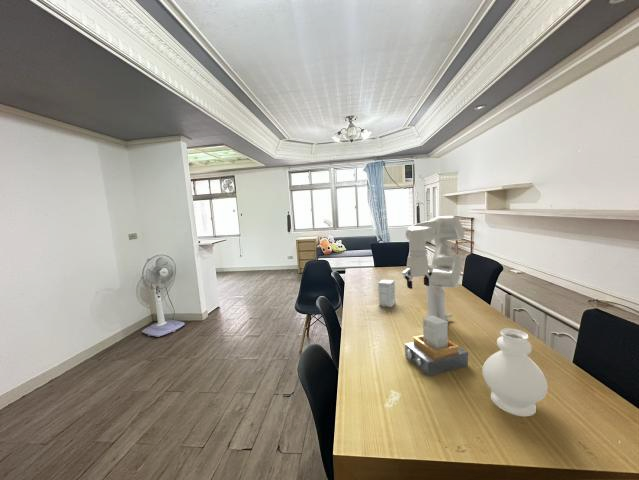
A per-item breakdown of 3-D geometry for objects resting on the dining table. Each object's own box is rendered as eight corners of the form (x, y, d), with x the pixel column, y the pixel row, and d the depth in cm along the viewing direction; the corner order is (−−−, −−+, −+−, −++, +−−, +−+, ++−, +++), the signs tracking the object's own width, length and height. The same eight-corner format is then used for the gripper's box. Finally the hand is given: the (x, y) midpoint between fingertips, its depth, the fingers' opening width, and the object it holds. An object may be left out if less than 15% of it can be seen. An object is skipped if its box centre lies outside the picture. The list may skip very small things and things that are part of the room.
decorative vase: (551, 431, 79) (555, 352, 76) (481, 410, 88) (482, 340, 86) (541, 394, 94) (543, 327, 91) (482, 380, 103) (483, 318, 100)
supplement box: (395, 303, 190) (395, 280, 188) (392, 307, 182) (391, 283, 180) (383, 301, 195) (382, 279, 193) (378, 305, 187) (377, 282, 185)
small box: (448, 349, 115) (447, 321, 114) (437, 353, 113) (437, 324, 111) (433, 341, 123) (432, 314, 121) (423, 345, 120) (422, 317, 118)
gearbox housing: (441, 347, 128) (441, 329, 127) (468, 365, 113) (468, 345, 112) (403, 356, 123) (402, 338, 122) (425, 376, 107) (425, 356, 106)
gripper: (427, 250, 137) (427, 282, 139) (397, 254, 133) (398, 287, 135) (437, 252, 130) (437, 286, 132) (406, 256, 125) (407, 291, 127)
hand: (418, 286), depth 133 cm, fingers open, 9 cm apart
